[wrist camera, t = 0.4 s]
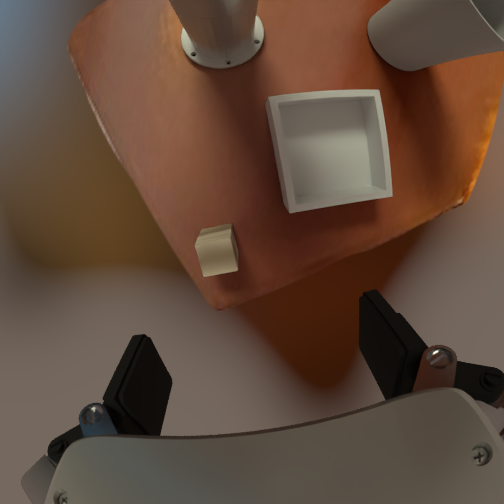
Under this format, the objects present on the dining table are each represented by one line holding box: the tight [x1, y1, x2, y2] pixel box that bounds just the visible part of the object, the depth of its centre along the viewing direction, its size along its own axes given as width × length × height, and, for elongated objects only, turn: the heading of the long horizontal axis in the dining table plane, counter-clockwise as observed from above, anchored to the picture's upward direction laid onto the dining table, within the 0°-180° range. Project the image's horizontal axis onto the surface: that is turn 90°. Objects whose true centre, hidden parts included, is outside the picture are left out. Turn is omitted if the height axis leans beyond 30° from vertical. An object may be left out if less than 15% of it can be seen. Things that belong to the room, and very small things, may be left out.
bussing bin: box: [265, 90, 392, 213], centre depth 36 cm, size 16×16×6 cm
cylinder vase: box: [368, 0, 504, 71], centre depth 20 cm, size 12×12×25 cm
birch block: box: [195, 223, 238, 277], centre depth 41 cm, size 5×5×7 cm
